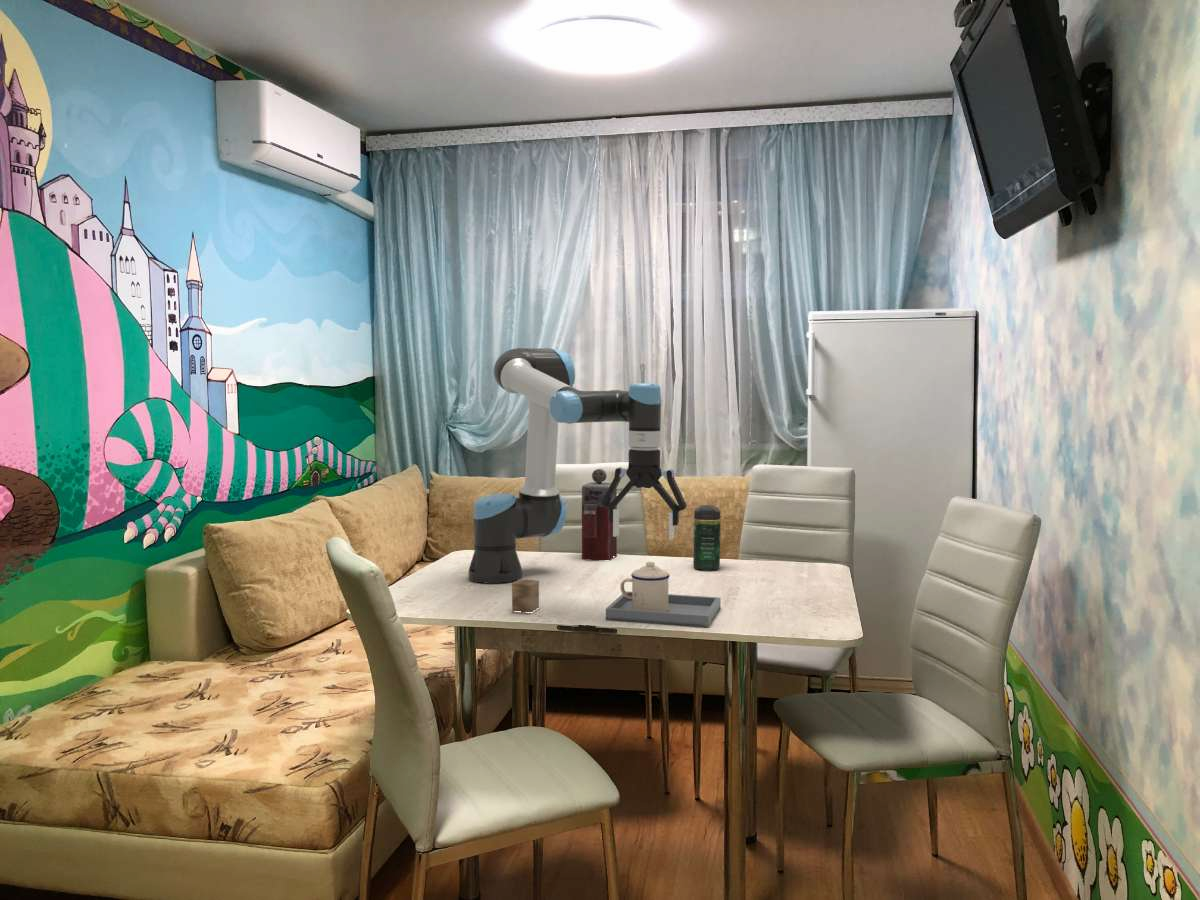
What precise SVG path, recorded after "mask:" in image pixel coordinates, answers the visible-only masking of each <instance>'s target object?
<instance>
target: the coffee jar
mask: <svg viewBox="0 0 1200 900" xmlns="http://www.w3.org/2000/svg"><path fill="white" fill-rule="evenodd" d="M693 513H694V515H693V556H692V557H693V561H692V563H693V568H694V569H696V570H698V569H699V570H702V571H711V570H718V569H720V565H721V533H722V532H721V528H722V527H721V510H720V509H719V508H717V507H716V506H715V505H711V504H702V505H700V506H698V507H696V508H695V509H694V512H693Z"/></svg>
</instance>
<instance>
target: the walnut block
mask: <svg viewBox="0 0 1200 900" xmlns="http://www.w3.org/2000/svg"><path fill="white" fill-rule="evenodd" d="M511 583H512V582H511ZM511 608H512V609H511V612H512V611H521V612H533V611H534V610H536V609H537V608H539V609H540V581H539V580H538V579H537V580H536V579H535V580H533V579H522V578H521V579H519V580H517V581H513V583H512V584H511ZM536 611H537V610H536Z"/></svg>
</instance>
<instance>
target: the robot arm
mask: <svg viewBox="0 0 1200 900" xmlns="http://www.w3.org/2000/svg"><path fill="white" fill-rule="evenodd" d="M493 378H494V380H495V381H496V384H497V385H498V386H499V387H500V388H501V389H503V390H505V391H506V392H509V393H510V394H520V395H522V396H523V397H525V398H526V400H527V401H528V418H527V421H528V422H527V439H526V453H525V454H526V456H525V457H526V458H525V476H524V477H525V478H524V484H523V485H522V486H521V487H520V488H519V490H518V497H516V495H515V494H514V493H510V492H509V493H508V492H507V493H505V492H504V493H493V494H489V495H485V496H482V497H480V498H478V499H477V500H475V502H474V505H473V515H472V516H473V541H474V542H473V543H474V544H473V545H474V546H473V547H474V548H473V549H474V550H473V554H472V558H471V560H470V564H469V566H468V567H469V568H468V575H467V576H468V577H467V579H468V578H469V579H470V580H469V579H468V580H469V581H471V580H473V581H477V582H476V583H478V582H487V583H486V584H503V583H502V582H507V583H512V582H511V581H513V582H516V580H517V581H518V580H519V579H522V578H523V568H522V564H521V561H520V559H519V556H518V553H517V543H516V542H517V540H518V539H519V540H520V539H528V538H537V537H542V538H543V537H548V536H552V535H555V534H558V533H559V532H560V531H561V530H562V529H563V527H564V525H565V523H566V520H567V516H568V515H567V513H568V512H567V511H568V510H567V506H566V501H565V499H564V498H563V496H562V495H560V494H561V493H560V490H559V489H558V488H557V486H556V472H557V469H556V468H557V454H558V453H557V452H558V435H559V424H570V425H571V424H577V423H579V424H582V423H610V422H611V423H612V422H624V423H628V447H629V448H630V449H629V450H628V467H627V469H625V468H622V467H621V466H620V467H617V468H616V469H615V470H614V477H613V479H612V481H611V482H610V483H611V485H610V487H609V489H608V491H607V493H606V495H605V497H604V499H603V501H602V505H603V506H606V507H608V508H609V521H610V522H613V536H614V537H616V536H617V537H618V536H620V508H619V507H618V504H620V503H621V501H622V500H623V499H624V498H625V497H626V496H627V494H629V492H630V491H631V490H632V488H634V487H636V488H637V489H640V488H644V489H651V488H653V489H654V491H656V492H657V493H658V494H659V496H660V497H661V498H662V500H663V501H664V502H665V503H666V505H667V506H668V507H669V508H670V511H669V512H668V540H669V541H670V540H671V541H672V540H673V539H675V526H678V525H679V522H680V521H679V520H680V512H681V511H683V510H685V509H686V508H687V507H688V505H687V503H686V500H685V498H684V496H683V494H682V491H681V490H680V488H679V485H678V483H677V482H676V481H677V480H675V473H674V472H675V471H674V470H673V469H668V470H662V468H661V450H660V449H659V448H660V447H661V433H662V432H661V431H662V430H661V425H662V421H661V419H662V402H663V400H662V395H661V394H662V393H661V390H662V389H661V386H660V384H658V383H656V382H655V383H653V382H652V383H650V382H649V383H647V382H645V383H644V382H641V383H640V382H638V383H633V382H632V383H631V384H629V388H628V390H620V389H614V390H613V389H612V390H580V389H577V388H575V387H573V386H574V384H575V381H576V369H575V363H574V362H573V359H572V358H571V356H570V354H569V353H568V352H566V351H565V350H563V349H558V348H552V347H550V348H549V347H548V348H547V347H545V348H531V347H529V348H524V347H516V348H511V349H508V350H506V351H504V352H502V354H501V355H499V356H498V358H497V359H496V361H495V362H494V366H493ZM625 475H627V477H628V478H629V481H628V482H627V484H626V485H625V486H624V487H623V489H622V490H621V491H619V493H617V497H616V498H615V499H614V500H613V501H612V502H610V500H611V498H612V496H613V494H614V492H615V490H616V488H617V489H618V486H619V484H620V482H621V480H622V478H624V477H625ZM662 476H663V478H664V479H665V480H667V483H668V485H669V488H670V490H671V492H672V494H673V497H674V499H675V500H676V501H675V500H674V499H673V497H672V496H671V495H670V494H669V492H668V491H667V490H666V489H665V487H664V486H663V484H662V483H661V482H660V478H661V477H662ZM676 502H677V503H676ZM616 506H617V508H616ZM473 581H472V582H473Z"/></svg>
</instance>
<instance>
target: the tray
mask: <svg viewBox="0 0 1200 900" xmlns="http://www.w3.org/2000/svg"><path fill="white" fill-rule="evenodd" d="M625 592H626V593H627V594H628V595H630V596H632V591H628V590H627V591H626V590H625ZM719 609H720V610H721V597H719V596H701V595H689V594H672V593H671V594H670V593H668V611H667V612H659V611H645V610H633V609H632V599H628V598H626V597H625V596H624V595H623V594H622V593H621V594H620V595H619V596H618V598H616V599H615V600H613V601H612V602H611V603H610V604H609V605H608V606H607V607H606V608H605V620H606V621H617V622H631V623H632V622H633V623H645V624H655V625H656V624H657V625H658V624H659V625H668V626H669V625H670V626H681V627H682V626H684V627H685V626H686V627H695V628H709V627H710V626H711V624H712V623H711V622H713V621H714V620H715V618H716V616H717V614H718V613H719V611H720V610H719ZM717 612H718V613H717ZM714 617H715V618H714Z"/></svg>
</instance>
